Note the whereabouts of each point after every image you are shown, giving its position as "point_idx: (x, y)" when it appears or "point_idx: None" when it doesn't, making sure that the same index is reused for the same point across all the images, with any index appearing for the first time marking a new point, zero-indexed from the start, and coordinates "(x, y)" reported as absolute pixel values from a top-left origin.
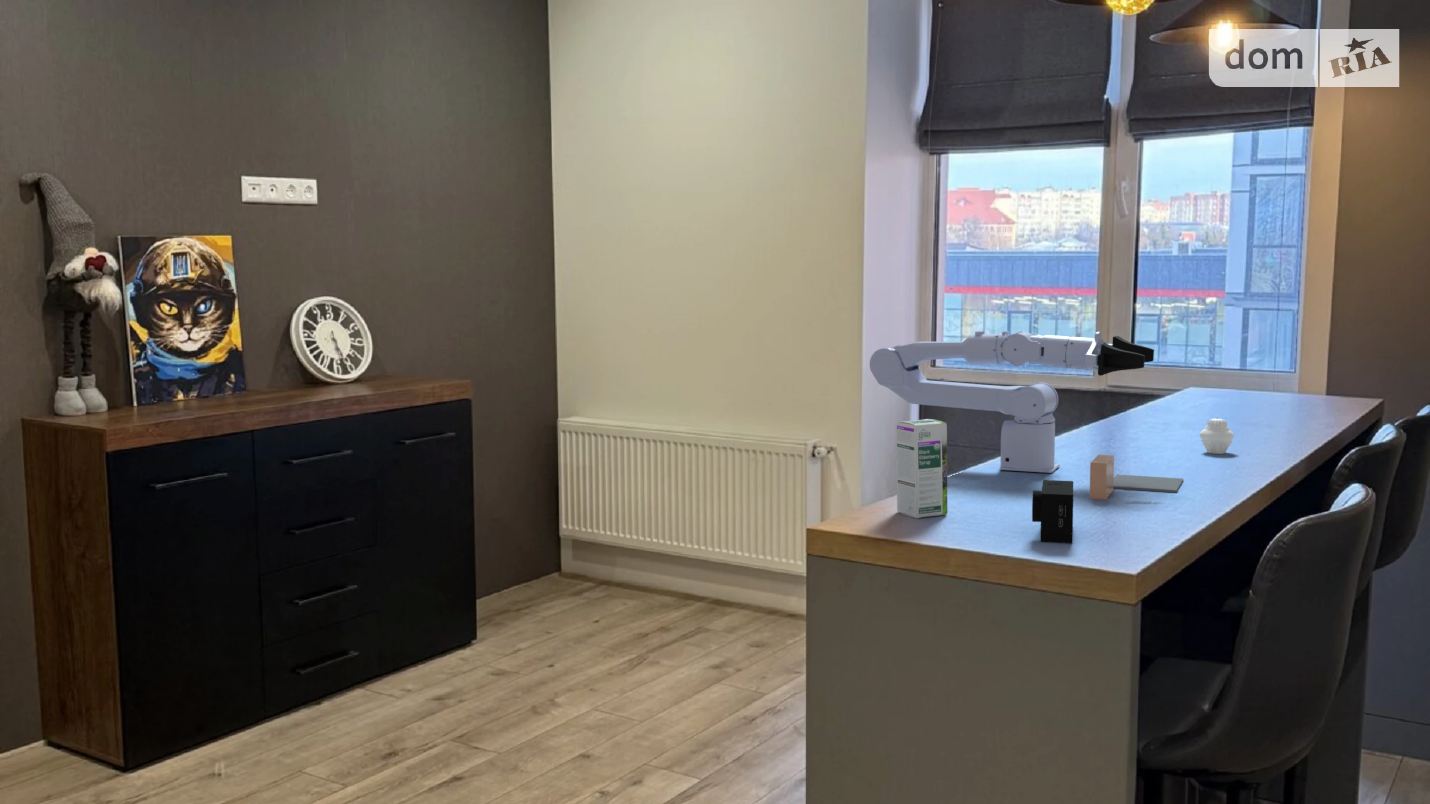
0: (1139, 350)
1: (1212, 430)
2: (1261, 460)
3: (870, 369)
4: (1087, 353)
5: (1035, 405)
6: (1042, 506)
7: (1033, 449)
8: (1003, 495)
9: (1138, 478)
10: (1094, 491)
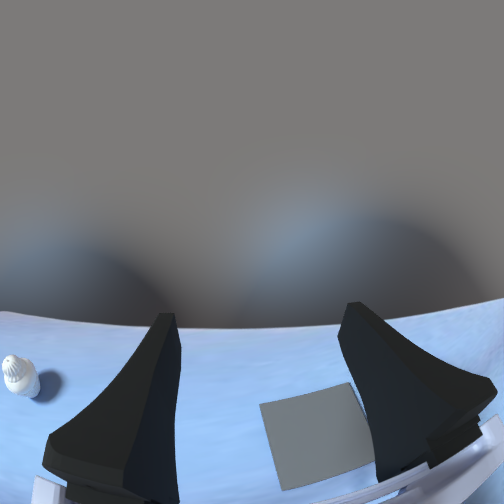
0: (164, 366)
1: (23, 375)
2: (74, 348)
3: None
4: (501, 458)
5: None
6: None
7: None
8: (495, 492)
9: (297, 452)
10: None
